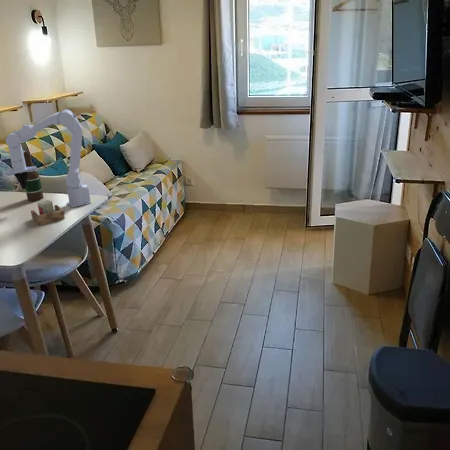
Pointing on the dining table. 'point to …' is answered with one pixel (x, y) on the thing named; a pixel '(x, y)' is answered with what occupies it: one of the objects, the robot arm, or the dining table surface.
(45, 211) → the small box
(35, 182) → the beer bottle
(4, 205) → the dining table surface
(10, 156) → the robot arm
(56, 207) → the walnut shelf bay
